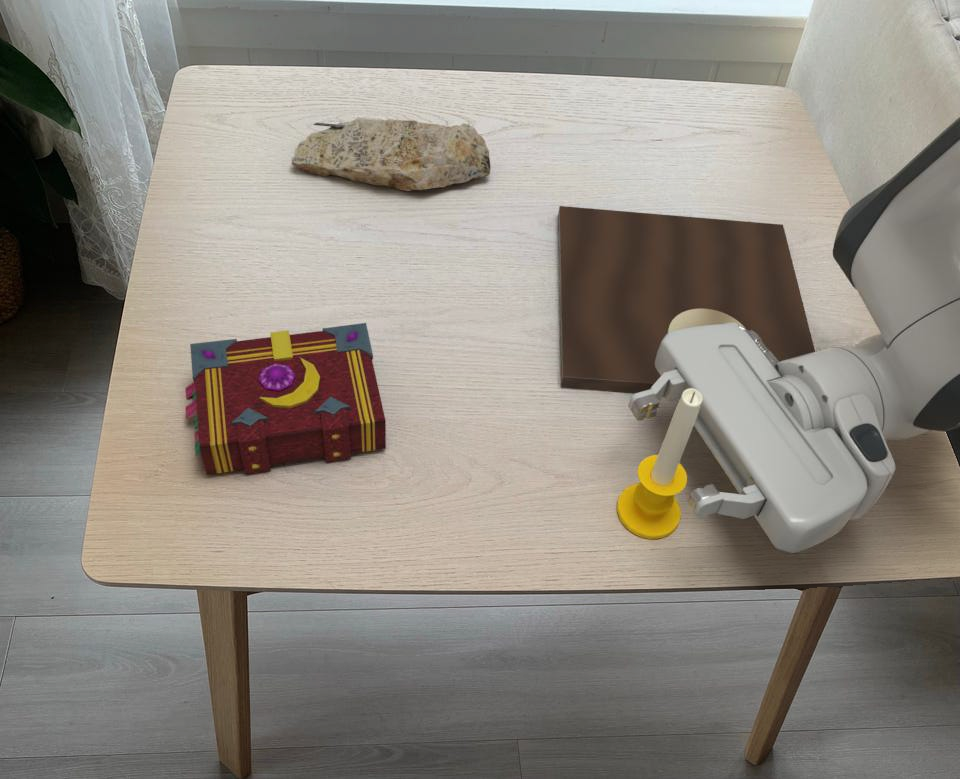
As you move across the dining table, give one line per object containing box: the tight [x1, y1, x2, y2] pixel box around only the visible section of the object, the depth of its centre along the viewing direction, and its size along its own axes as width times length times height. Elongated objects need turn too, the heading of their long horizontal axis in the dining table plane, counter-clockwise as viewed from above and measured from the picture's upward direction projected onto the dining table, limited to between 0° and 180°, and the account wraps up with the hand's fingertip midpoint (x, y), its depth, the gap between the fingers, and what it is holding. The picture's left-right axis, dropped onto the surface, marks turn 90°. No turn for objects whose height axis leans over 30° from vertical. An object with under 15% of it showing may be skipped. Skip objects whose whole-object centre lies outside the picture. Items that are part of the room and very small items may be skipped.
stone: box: [291, 117, 492, 192], centre depth 103 cm, size 21×6×10 cm
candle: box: [616, 388, 702, 540], centre depth 72 cm, size 5×5×16 cm
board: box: [557, 205, 816, 394], centre depth 94 cm, size 24×24×2 cm
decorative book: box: [184, 322, 387, 476], centre depth 80 cm, size 11×16×5 cm
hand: (662, 454), depth 71 cm, fingers open, 8 cm apart
